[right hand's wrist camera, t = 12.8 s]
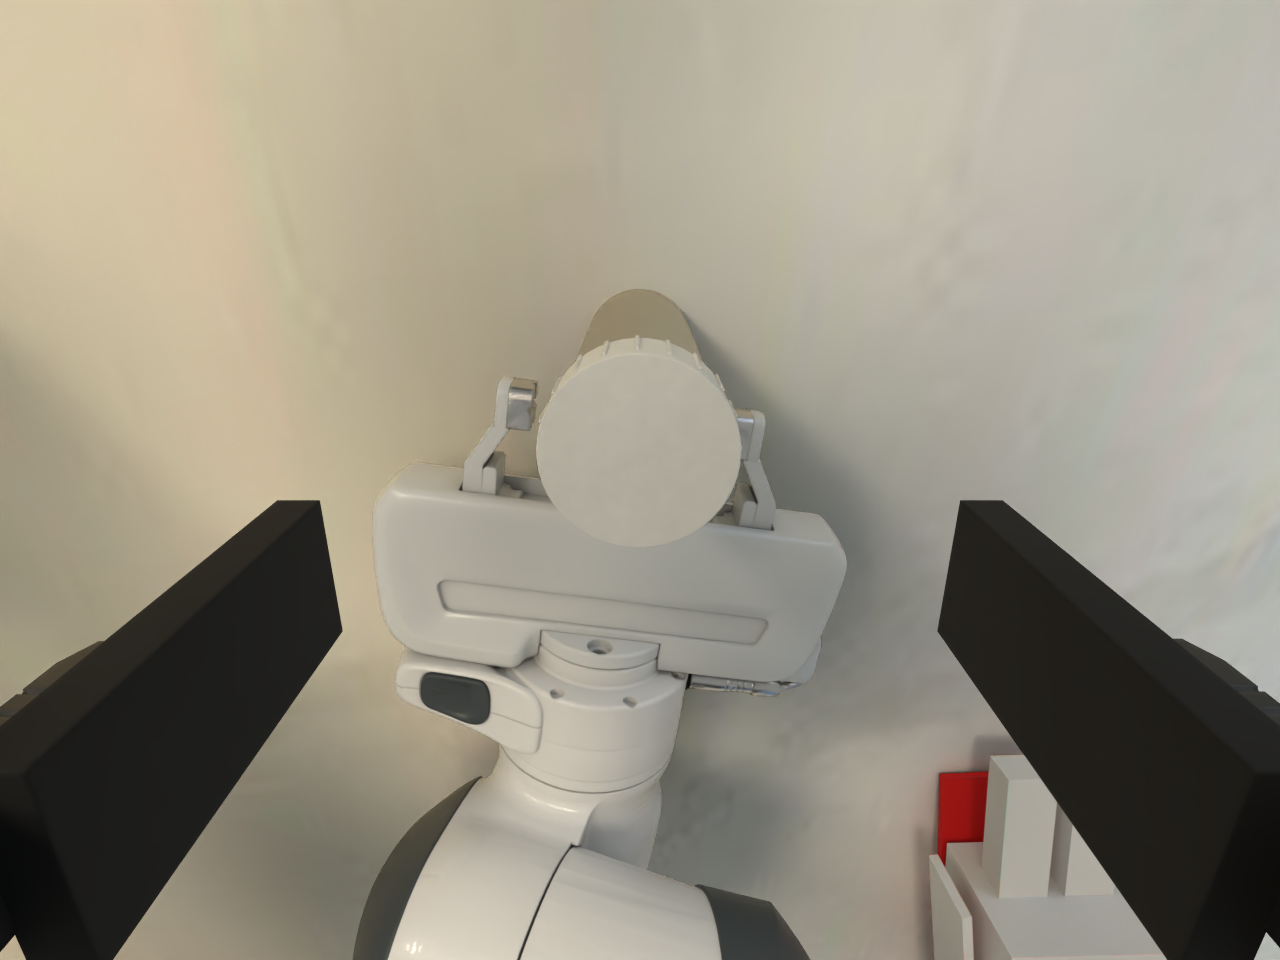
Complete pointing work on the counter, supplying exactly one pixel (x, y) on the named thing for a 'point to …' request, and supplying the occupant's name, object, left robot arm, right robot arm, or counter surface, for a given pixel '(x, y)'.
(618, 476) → the lid
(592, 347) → the jar
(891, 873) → the counter surface
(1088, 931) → the toy
